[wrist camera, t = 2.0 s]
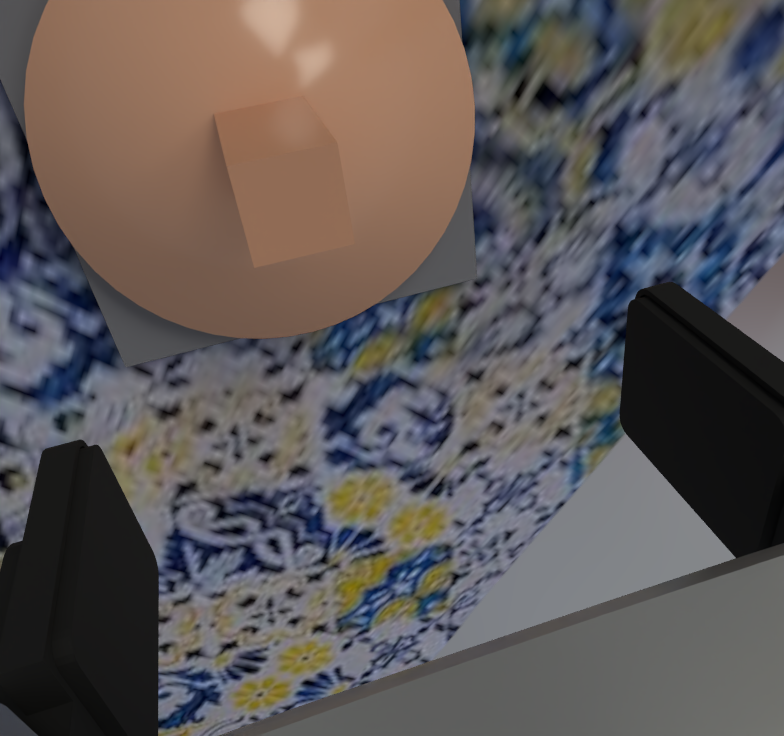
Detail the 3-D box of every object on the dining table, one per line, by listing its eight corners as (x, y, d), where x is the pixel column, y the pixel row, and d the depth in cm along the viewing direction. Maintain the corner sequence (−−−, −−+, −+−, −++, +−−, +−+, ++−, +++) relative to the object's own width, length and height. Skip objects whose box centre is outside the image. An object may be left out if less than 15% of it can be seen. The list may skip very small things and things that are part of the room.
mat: (-61, -74, 21) (-66, -73, 20) (443, -152, 23) (449, -153, 23) (126, 359, 30) (125, 367, 30) (472, 272, 32) (476, 278, 32)
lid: (-66, -73, 20) (-153, -63, 15) (449, -153, 23) (544, -171, 17) (125, 366, 30) (117, 475, 24) (476, 278, 32) (543, 358, 26)
